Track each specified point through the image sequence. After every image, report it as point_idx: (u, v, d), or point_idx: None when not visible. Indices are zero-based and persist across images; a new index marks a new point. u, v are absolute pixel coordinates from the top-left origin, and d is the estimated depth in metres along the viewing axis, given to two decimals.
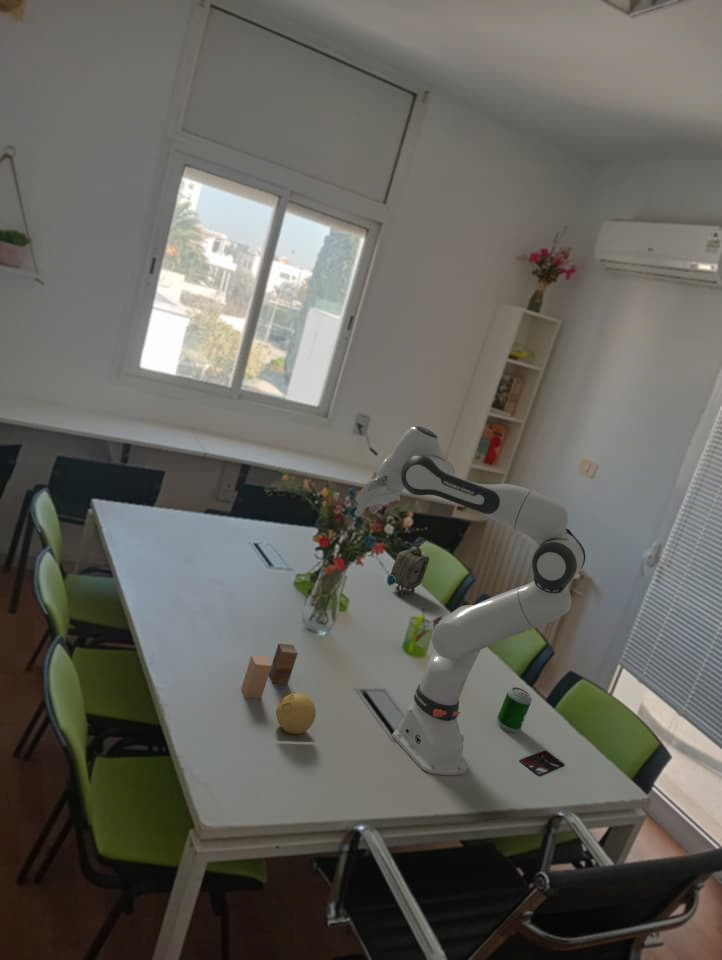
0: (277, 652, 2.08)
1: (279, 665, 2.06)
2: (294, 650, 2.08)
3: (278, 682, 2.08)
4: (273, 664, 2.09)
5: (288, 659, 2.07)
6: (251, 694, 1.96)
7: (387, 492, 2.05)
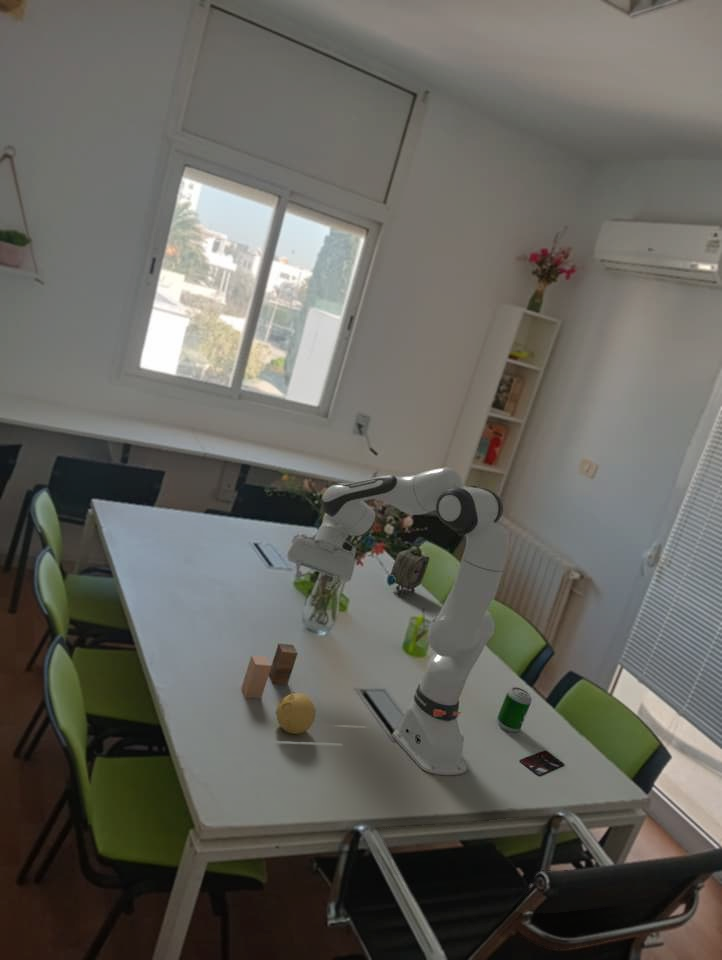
0: (277, 652, 2.08)
1: (279, 665, 2.06)
2: (294, 650, 2.08)
3: (278, 682, 2.08)
4: (273, 664, 2.09)
5: (288, 659, 2.07)
6: (251, 694, 1.96)
7: (324, 555, 2.20)
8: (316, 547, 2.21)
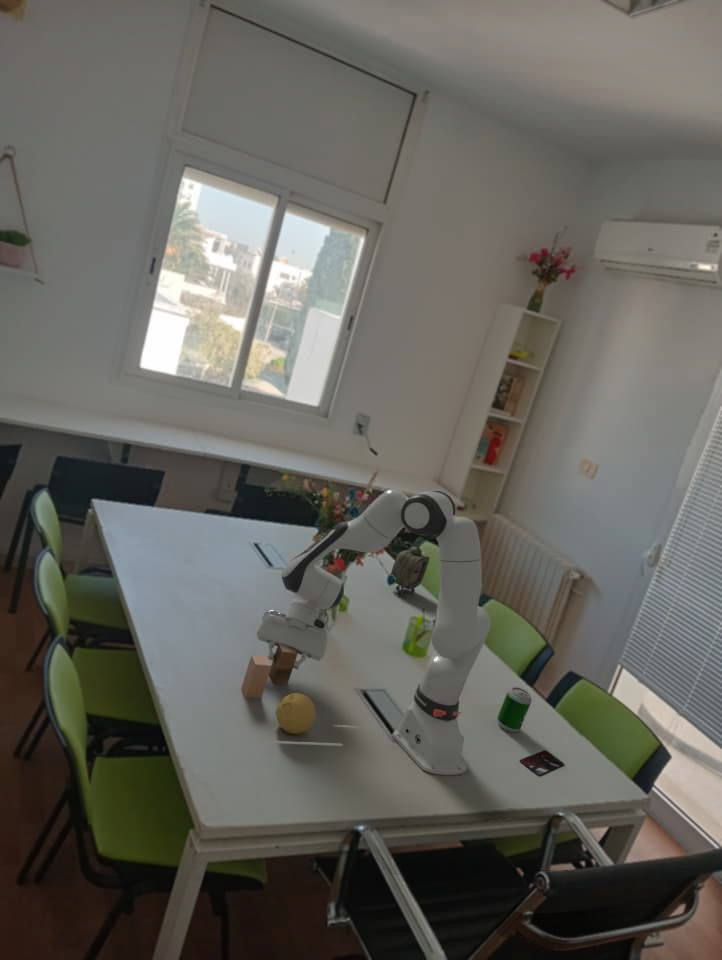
0: (277, 652, 2.08)
1: (279, 665, 2.06)
2: (294, 650, 2.08)
3: (278, 682, 2.08)
4: (273, 664, 2.09)
5: (288, 659, 2.07)
6: (251, 694, 1.96)
7: (295, 633, 2.12)
8: (287, 625, 2.13)
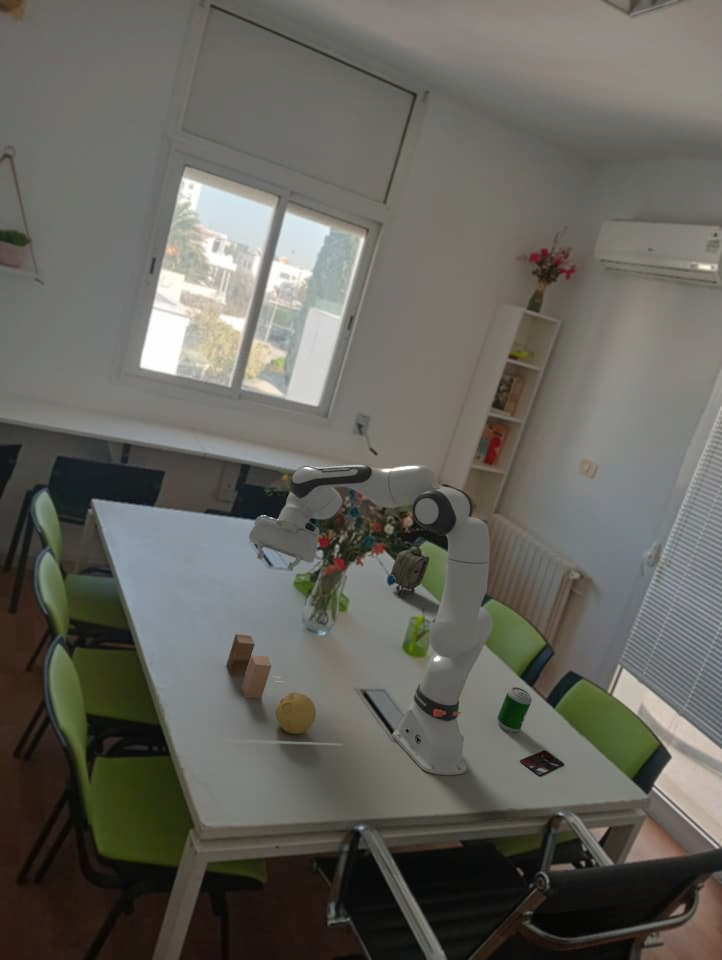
0: (234, 643, 2.06)
1: (235, 656, 2.04)
2: (251, 641, 2.05)
3: (235, 673, 2.05)
4: (230, 655, 2.07)
5: (245, 650, 2.04)
6: (251, 694, 1.96)
7: (287, 535, 2.17)
8: (278, 528, 2.18)
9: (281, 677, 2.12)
